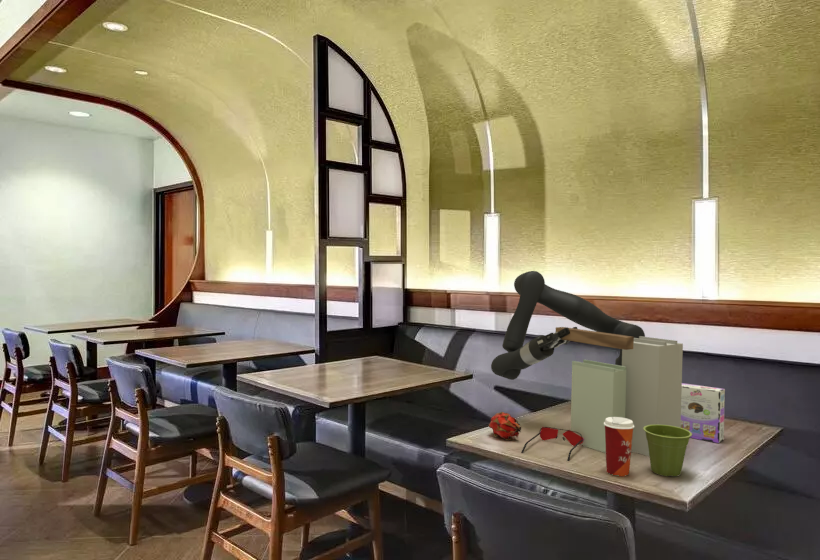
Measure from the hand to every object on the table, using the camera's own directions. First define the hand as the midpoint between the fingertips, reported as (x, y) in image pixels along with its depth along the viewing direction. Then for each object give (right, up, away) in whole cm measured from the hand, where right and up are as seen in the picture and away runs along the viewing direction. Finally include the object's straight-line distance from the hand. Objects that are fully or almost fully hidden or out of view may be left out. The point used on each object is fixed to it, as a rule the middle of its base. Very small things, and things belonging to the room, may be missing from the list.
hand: (572, 329), depth 185 cm
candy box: (+41, -35, +4) cm, 54 cm away
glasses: (-9, -35, -11) cm, 38 cm away
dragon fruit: (-21, -34, +1) cm, 40 cm away
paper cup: (+4, -35, -30) cm, 46 cm away
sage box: (+5, -35, -7) cm, 36 cm away
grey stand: (+20, -35, -10) cm, 41 cm away
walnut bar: (+4, -4, -6) cm, 8 cm away
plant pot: (+17, -36, -29) cm, 49 cm away
